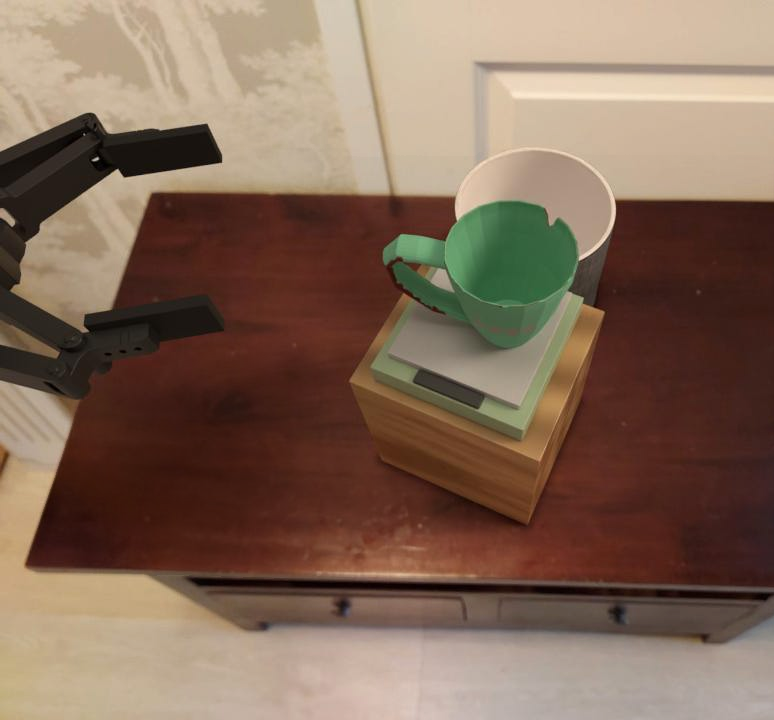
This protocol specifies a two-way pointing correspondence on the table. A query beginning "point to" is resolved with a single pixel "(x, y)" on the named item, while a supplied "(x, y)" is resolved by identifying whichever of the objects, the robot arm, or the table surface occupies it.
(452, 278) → the mug
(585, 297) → the planter
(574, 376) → the riser
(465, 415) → the scale
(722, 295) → the table surface
